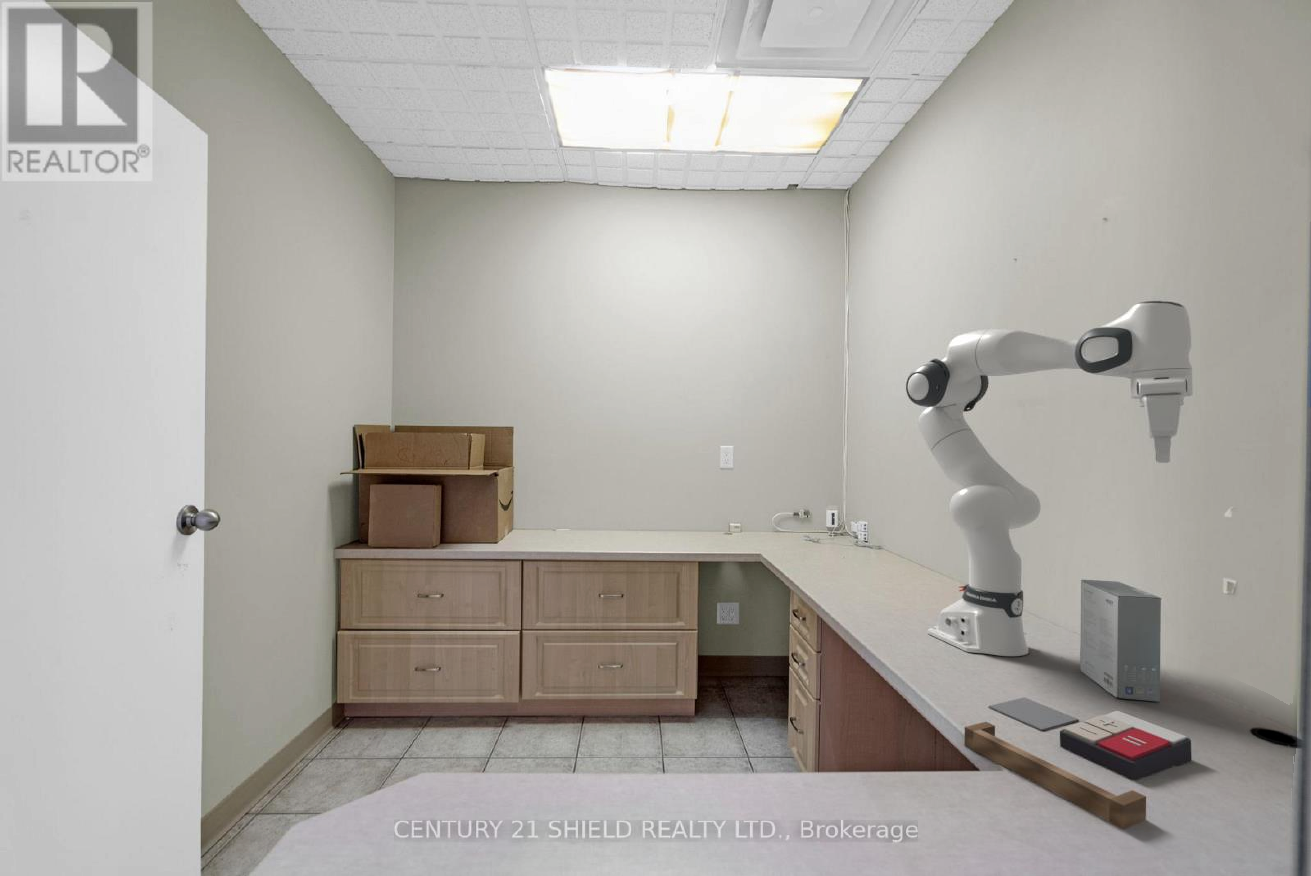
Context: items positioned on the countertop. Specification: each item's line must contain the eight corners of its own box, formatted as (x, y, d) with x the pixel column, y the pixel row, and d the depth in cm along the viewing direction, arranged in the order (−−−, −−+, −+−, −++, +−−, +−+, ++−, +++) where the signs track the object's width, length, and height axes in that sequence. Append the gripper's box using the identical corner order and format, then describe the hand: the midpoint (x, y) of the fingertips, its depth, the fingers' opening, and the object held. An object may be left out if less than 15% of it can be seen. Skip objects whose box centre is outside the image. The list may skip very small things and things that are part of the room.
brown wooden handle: (964, 745, 99) (964, 726, 99) (985, 739, 101) (986, 721, 101) (1123, 829, 78) (1123, 805, 78) (1146, 819, 80) (1146, 796, 80)
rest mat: (988, 707, 114) (988, 705, 114) (1024, 698, 118) (1024, 697, 118) (1041, 731, 105) (1041, 729, 105) (1078, 720, 109) (1078, 719, 109)
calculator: (1058, 725, 100) (1115, 706, 106) (1058, 752, 100) (1116, 731, 106) (1133, 758, 90) (1192, 734, 96) (1134, 787, 90) (1193, 761, 96)
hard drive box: (1162, 703, 117) (1163, 598, 117) (1116, 699, 118) (1117, 595, 118) (1118, 673, 132) (1119, 580, 132) (1078, 670, 134) (1079, 578, 134)
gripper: (1139, 393, 124) (1141, 461, 124) (1138, 384, 108) (1140, 462, 108) (1180, 391, 120) (1182, 462, 120) (1186, 381, 104) (1188, 463, 104)
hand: (1162, 462), depth 114 cm, fingers open, 8 cm apart
